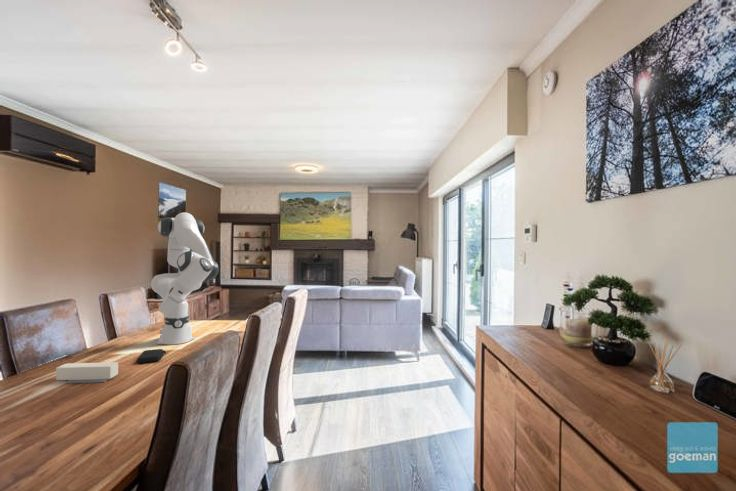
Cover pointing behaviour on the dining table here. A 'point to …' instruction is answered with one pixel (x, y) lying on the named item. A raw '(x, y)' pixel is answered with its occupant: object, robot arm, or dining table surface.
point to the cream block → (86, 371)
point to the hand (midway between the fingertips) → (160, 307)
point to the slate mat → (88, 381)
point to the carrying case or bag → (150, 356)
